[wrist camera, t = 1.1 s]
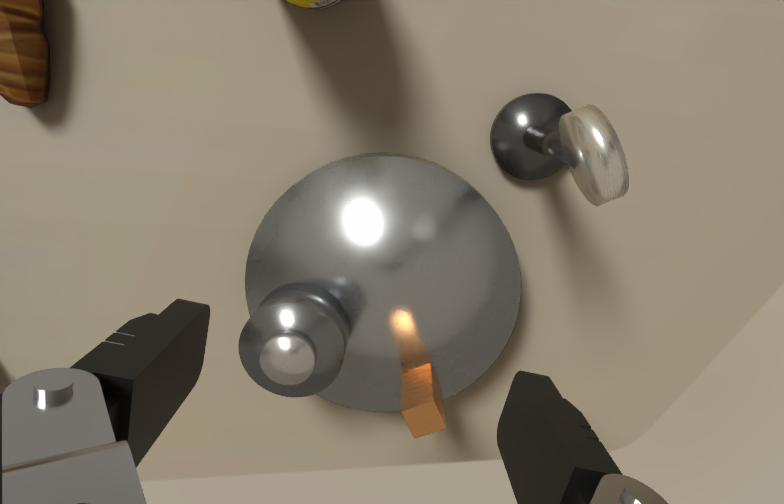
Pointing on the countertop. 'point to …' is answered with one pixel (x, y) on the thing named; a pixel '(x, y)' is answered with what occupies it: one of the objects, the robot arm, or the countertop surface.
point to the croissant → (23, 53)
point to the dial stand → (560, 145)
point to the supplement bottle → (312, 3)
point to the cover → (295, 340)
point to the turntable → (396, 278)
